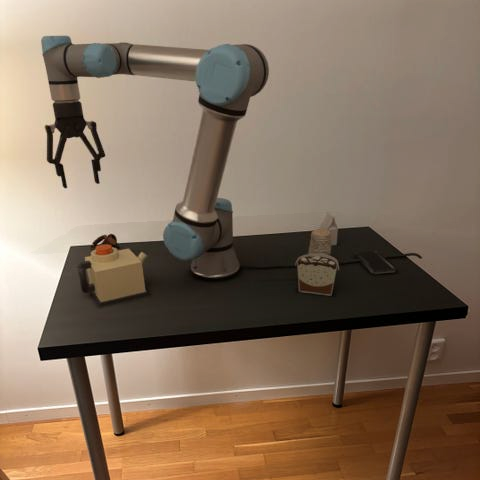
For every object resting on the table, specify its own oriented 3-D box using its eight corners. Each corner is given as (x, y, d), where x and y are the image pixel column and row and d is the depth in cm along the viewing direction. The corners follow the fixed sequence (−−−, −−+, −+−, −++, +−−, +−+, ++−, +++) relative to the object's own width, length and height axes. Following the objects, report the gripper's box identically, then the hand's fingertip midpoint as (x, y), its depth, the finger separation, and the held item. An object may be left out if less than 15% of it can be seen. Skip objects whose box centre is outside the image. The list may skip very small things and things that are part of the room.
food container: (340, 287, 145) (343, 255, 140) (336, 296, 140) (339, 263, 135) (298, 282, 148) (300, 250, 143) (294, 290, 143) (295, 258, 138)
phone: (377, 251, 165) (397, 268, 152) (376, 254, 166) (396, 272, 153) (354, 253, 164) (372, 271, 151) (354, 256, 165) (372, 274, 152)
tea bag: (326, 245, 174) (328, 218, 169) (320, 239, 179) (321, 212, 174) (336, 244, 174) (338, 217, 169) (329, 238, 180) (331, 211, 175)
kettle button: (109, 248, 143) (109, 243, 142) (114, 253, 140) (113, 248, 139) (94, 251, 141) (93, 246, 140) (98, 257, 138) (97, 251, 137)
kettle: (132, 279, 152) (127, 242, 146) (146, 294, 143) (141, 255, 137) (90, 288, 147) (83, 251, 141) (101, 305, 138) (94, 265, 132)
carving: (321, 273, 153) (323, 236, 147) (303, 266, 158) (304, 230, 152) (334, 267, 157) (337, 231, 151) (316, 261, 162) (318, 225, 156)
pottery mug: (121, 262, 165) (105, 244, 160) (99, 272, 169) (83, 254, 164) (129, 241, 174) (114, 223, 169) (108, 251, 177) (93, 233, 173)
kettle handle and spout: (143, 276, 154) (139, 242, 149) (158, 292, 144) (154, 257, 138) (78, 291, 146) (71, 256, 140) (89, 309, 136) (82, 272, 130)
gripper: (102, 97, 141) (113, 177, 152) (22, 102, 132) (41, 187, 144) (109, 99, 135) (120, 182, 147) (26, 105, 127) (45, 193, 138)
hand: (81, 184), depth 145 cm, fingers open, 9 cm apart
